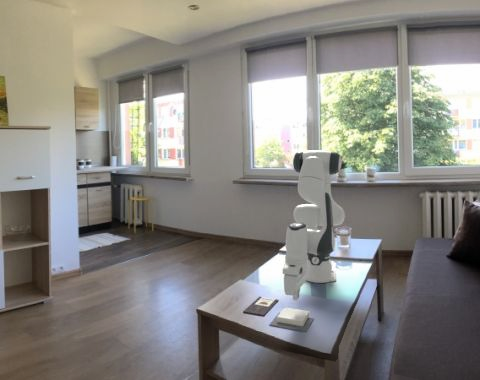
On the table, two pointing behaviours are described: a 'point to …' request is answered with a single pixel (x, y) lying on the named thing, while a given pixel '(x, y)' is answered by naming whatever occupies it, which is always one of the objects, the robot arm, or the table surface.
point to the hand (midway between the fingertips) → (296, 299)
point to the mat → (290, 326)
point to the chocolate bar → (261, 306)
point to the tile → (293, 316)
